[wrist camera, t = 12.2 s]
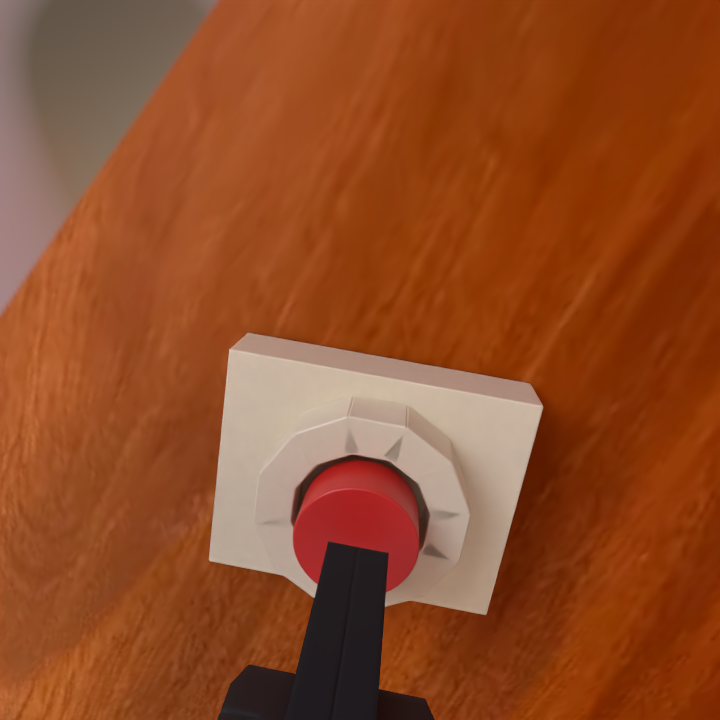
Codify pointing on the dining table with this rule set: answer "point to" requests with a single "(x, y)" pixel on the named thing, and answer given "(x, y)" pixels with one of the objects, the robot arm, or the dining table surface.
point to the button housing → (372, 458)
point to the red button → (359, 517)
